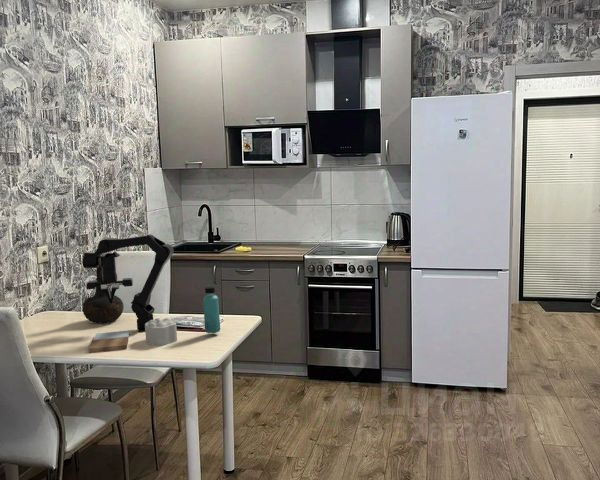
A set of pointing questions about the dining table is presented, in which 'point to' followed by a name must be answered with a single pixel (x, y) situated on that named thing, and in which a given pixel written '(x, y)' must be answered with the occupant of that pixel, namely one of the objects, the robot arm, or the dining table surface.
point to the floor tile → (111, 335)
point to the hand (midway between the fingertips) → (111, 303)
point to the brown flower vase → (102, 305)
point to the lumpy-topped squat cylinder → (160, 332)
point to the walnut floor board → (108, 344)
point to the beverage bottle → (211, 311)
